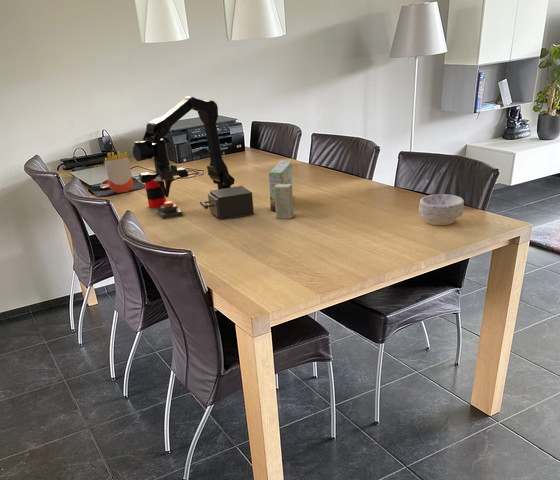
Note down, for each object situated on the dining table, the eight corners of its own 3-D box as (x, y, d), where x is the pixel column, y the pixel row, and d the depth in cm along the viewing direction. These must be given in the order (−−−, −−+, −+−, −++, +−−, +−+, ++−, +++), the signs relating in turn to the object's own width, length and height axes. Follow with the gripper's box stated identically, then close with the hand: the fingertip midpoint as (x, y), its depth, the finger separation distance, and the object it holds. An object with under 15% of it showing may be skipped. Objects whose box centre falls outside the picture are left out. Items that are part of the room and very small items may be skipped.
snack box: (283, 211, 229) (281, 172, 221) (270, 211, 230) (267, 172, 222) (293, 196, 247) (292, 160, 239) (281, 196, 248) (279, 160, 240)
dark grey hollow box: (221, 219, 224) (218, 197, 219) (212, 212, 234) (209, 190, 230) (253, 214, 228) (252, 192, 223) (243, 206, 238) (242, 185, 233)
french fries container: (110, 192, 273) (101, 152, 263) (132, 188, 276) (125, 149, 267) (111, 194, 269) (103, 154, 260) (134, 190, 273) (127, 150, 263)
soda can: (170, 204, 248) (165, 175, 242) (160, 209, 242) (155, 180, 236) (155, 203, 251) (151, 174, 245) (145, 207, 245) (140, 179, 239)
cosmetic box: (294, 215, 223) (292, 183, 217) (290, 219, 220) (289, 186, 213) (279, 215, 225) (277, 183, 219) (275, 218, 222) (273, 186, 215)
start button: (163, 206, 234) (162, 202, 233) (172, 204, 235) (171, 200, 234) (165, 208, 231) (164, 204, 230) (174, 207, 232) (173, 202, 231)
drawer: (207, 219, 222) (205, 201, 219) (199, 212, 232) (197, 195, 228) (247, 212, 227) (246, 195, 224) (238, 205, 236) (237, 189, 233)
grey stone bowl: (437, 231, 198) (439, 208, 194) (409, 220, 210) (411, 198, 205) (471, 222, 203) (473, 200, 199) (442, 212, 215) (444, 191, 211)
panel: (158, 212, 238) (156, 204, 236) (176, 209, 240) (175, 201, 238) (163, 219, 230) (161, 210, 228) (182, 215, 232) (181, 207, 230)
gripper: (140, 163, 214) (147, 205, 222) (188, 156, 219) (194, 198, 227) (135, 158, 223) (142, 198, 231) (182, 152, 228) (187, 191, 236)
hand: (167, 196), depth 231 cm, fingers closed
